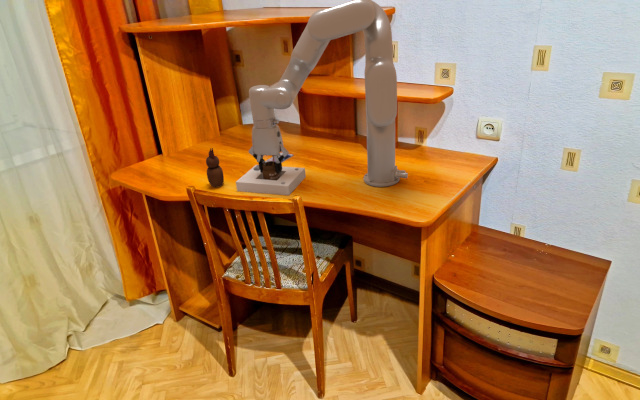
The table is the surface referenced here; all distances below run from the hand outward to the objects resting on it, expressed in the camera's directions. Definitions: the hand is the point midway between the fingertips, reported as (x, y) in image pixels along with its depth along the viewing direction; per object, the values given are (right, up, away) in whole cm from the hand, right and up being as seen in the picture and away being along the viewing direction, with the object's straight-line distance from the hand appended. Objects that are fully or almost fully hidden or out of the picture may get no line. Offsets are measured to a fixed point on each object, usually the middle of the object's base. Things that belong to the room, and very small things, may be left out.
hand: (271, 171), depth 162 cm
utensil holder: (0, -4, +2) cm, 4 cm away
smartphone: (0, +5, +23) cm, 24 cm away
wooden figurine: (-20, -5, +5) cm, 21 cm away
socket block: (0, -4, +2) cm, 5 cm away
